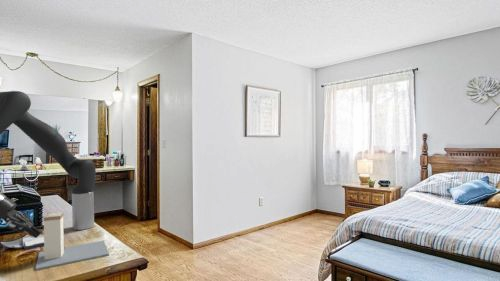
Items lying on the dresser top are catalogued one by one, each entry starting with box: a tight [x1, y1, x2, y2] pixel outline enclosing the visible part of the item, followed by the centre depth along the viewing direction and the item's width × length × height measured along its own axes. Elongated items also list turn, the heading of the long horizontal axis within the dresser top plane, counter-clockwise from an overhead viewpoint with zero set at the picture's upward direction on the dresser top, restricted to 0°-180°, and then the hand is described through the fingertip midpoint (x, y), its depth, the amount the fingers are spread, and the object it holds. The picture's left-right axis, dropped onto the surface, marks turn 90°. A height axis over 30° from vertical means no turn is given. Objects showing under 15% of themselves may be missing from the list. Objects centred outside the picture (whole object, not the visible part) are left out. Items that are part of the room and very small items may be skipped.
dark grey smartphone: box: [21, 233, 44, 250], centre depth 124 cm, size 9×2×16 cm
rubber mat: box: [35, 240, 110, 271], centre depth 110 cm, size 17×22×1 cm
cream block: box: [43, 212, 65, 260], centre depth 107 cm, size 5×5×15 cm
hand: (38, 235), depth 105 cm, fingers closed
